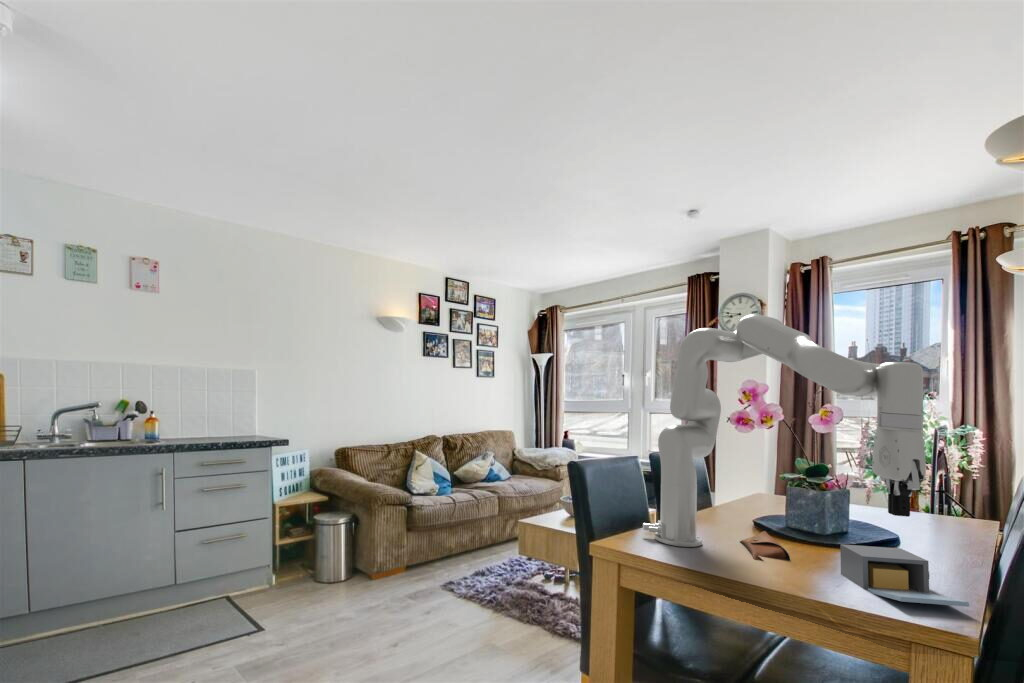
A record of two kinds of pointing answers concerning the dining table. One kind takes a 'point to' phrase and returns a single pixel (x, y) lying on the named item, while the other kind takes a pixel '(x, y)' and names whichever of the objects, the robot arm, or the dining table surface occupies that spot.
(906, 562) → the block
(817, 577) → the dining table surface
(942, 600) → the side door
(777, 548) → the sunglasses case
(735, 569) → the dining table surface
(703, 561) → the dining table surface
